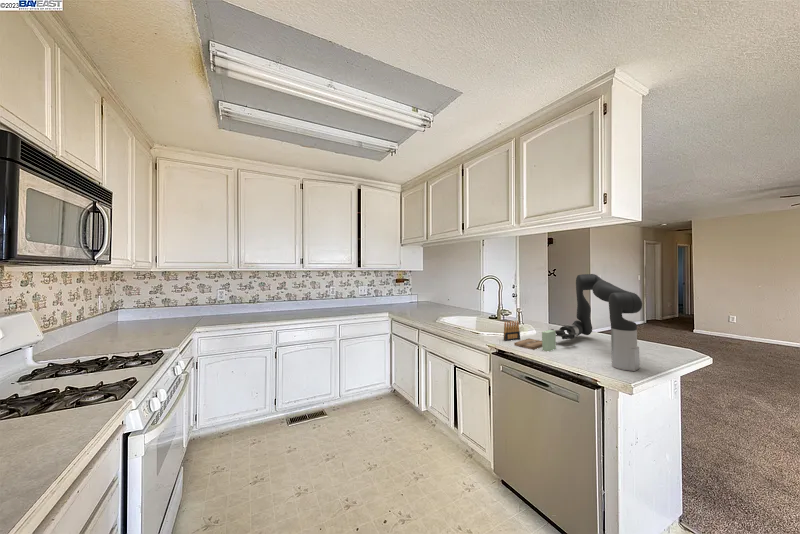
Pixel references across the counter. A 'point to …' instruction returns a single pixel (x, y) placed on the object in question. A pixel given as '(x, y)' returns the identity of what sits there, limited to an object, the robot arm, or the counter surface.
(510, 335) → the ammunition clip
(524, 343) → the bolt board
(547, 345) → the green bar
